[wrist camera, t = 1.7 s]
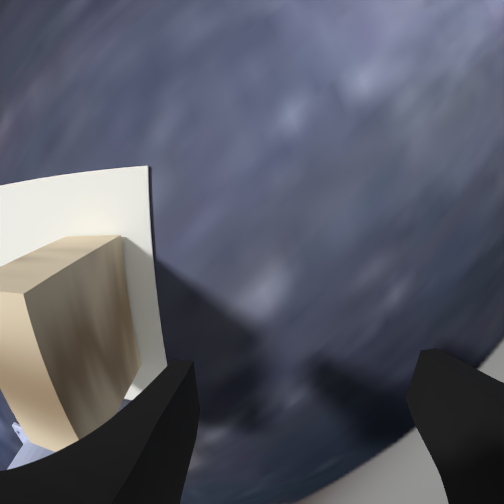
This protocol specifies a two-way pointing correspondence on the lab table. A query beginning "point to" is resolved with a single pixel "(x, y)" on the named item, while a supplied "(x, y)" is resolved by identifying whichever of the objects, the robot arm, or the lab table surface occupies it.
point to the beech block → (66, 338)
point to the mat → (94, 224)
